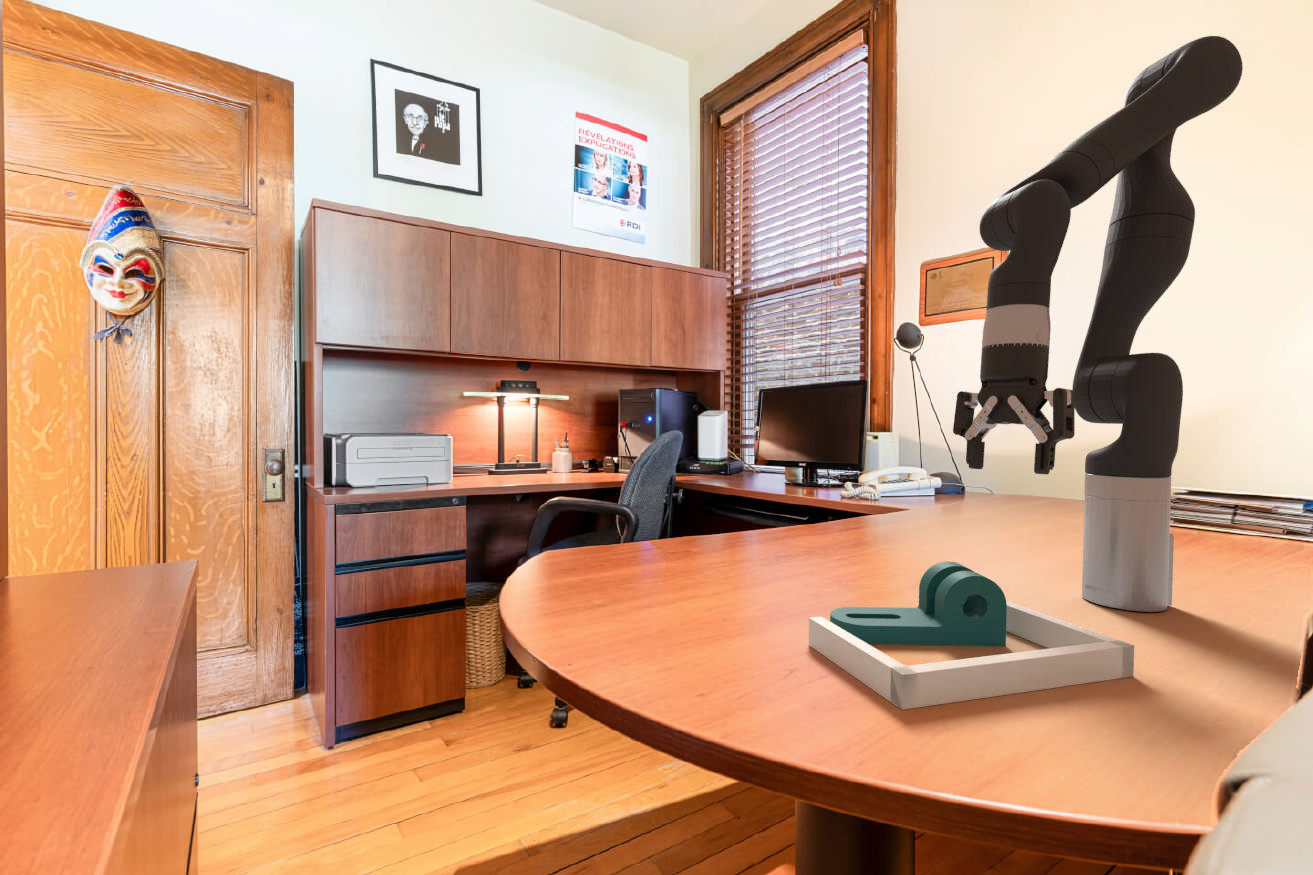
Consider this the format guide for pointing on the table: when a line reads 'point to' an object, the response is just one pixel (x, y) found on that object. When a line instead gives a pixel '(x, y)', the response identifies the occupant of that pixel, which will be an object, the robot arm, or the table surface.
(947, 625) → the bracket
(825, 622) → the white open frame
